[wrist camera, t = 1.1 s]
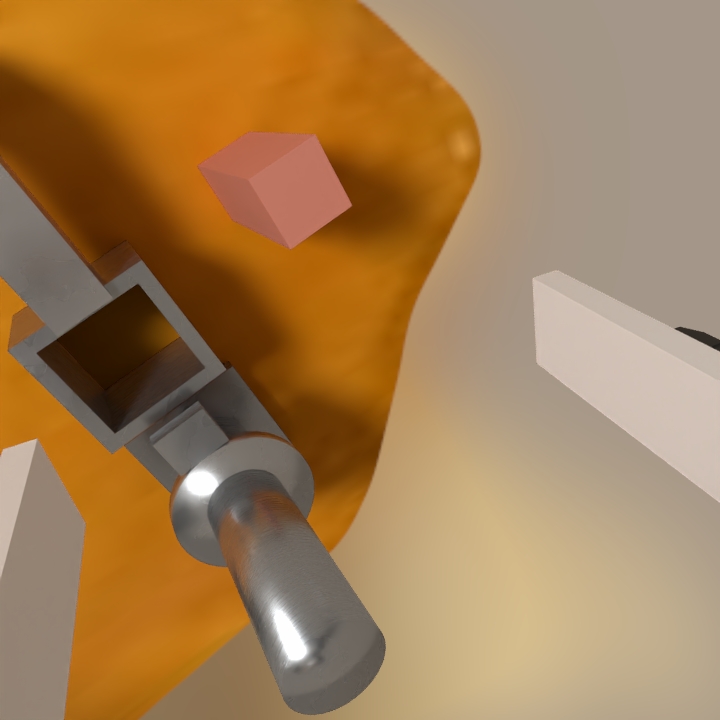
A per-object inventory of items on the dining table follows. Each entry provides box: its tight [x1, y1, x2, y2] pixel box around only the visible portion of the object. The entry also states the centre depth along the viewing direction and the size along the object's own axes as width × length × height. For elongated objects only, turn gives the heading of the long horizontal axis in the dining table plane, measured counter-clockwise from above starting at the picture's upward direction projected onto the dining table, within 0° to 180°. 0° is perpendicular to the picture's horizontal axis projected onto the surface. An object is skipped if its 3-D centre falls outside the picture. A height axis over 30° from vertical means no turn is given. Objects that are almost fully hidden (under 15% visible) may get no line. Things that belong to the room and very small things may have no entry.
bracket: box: [0, 156, 226, 454], centre depth 29 cm, size 7×20×6 cm, turn 30°
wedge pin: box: [198, 132, 352, 249], centre depth 31 cm, size 4×4×10 cm
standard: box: [124, 361, 386, 715], centre depth 31 cm, size 8×10×20 cm
